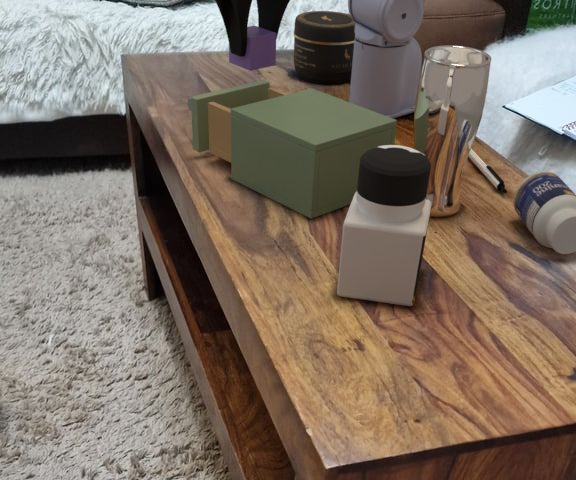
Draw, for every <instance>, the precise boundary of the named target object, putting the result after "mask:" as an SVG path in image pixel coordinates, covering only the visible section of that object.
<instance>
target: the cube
mask: <svg viewBox="0 0 576 480" xmlns="http://www.w3.org/2000/svg"><path fill="white" fill-rule="evenodd" d="M228 63H230V64H231V65H235V66H237V67H240V68H242V69H245V70H248V71H256V70H260V69H265V68H270V67H275V66H276V63H277V39H276V33H275V32H272V31H269V30H266V29H263V28H260V27H258V25H250V26H249V25H248V27H247V47H246V53H245V56H243V57H240V56H237V55H235V54H232V53H231V50H230V45H229V44H228Z"/></svg>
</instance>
